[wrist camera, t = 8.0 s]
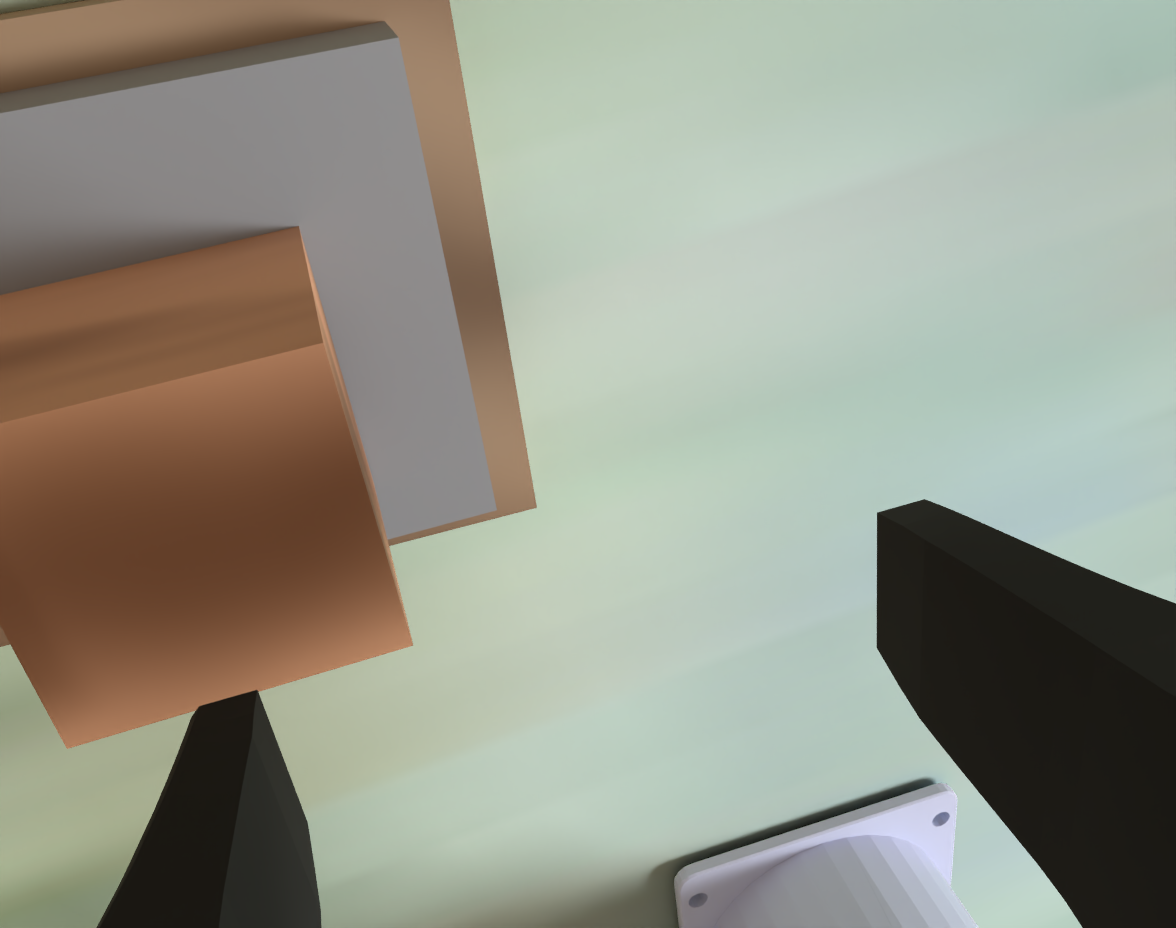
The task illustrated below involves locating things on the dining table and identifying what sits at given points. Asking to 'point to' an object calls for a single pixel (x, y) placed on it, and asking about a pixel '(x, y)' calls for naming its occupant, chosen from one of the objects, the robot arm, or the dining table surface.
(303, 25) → the walnut base slab
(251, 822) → the robot arm
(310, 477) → the terracotta cube
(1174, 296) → the dining table surface
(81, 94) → the slate top slab
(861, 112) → the dining table surface
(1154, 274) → the dining table surface
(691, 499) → the dining table surface
